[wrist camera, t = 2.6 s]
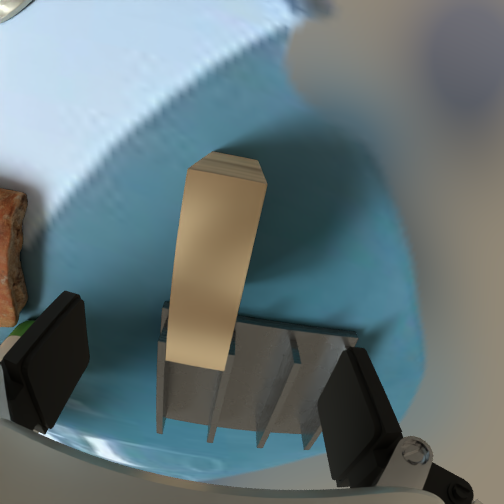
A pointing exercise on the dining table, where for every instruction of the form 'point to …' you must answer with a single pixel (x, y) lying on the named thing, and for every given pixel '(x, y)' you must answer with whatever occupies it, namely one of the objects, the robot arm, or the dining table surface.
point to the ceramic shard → (11, 256)
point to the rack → (254, 380)
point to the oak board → (212, 257)
